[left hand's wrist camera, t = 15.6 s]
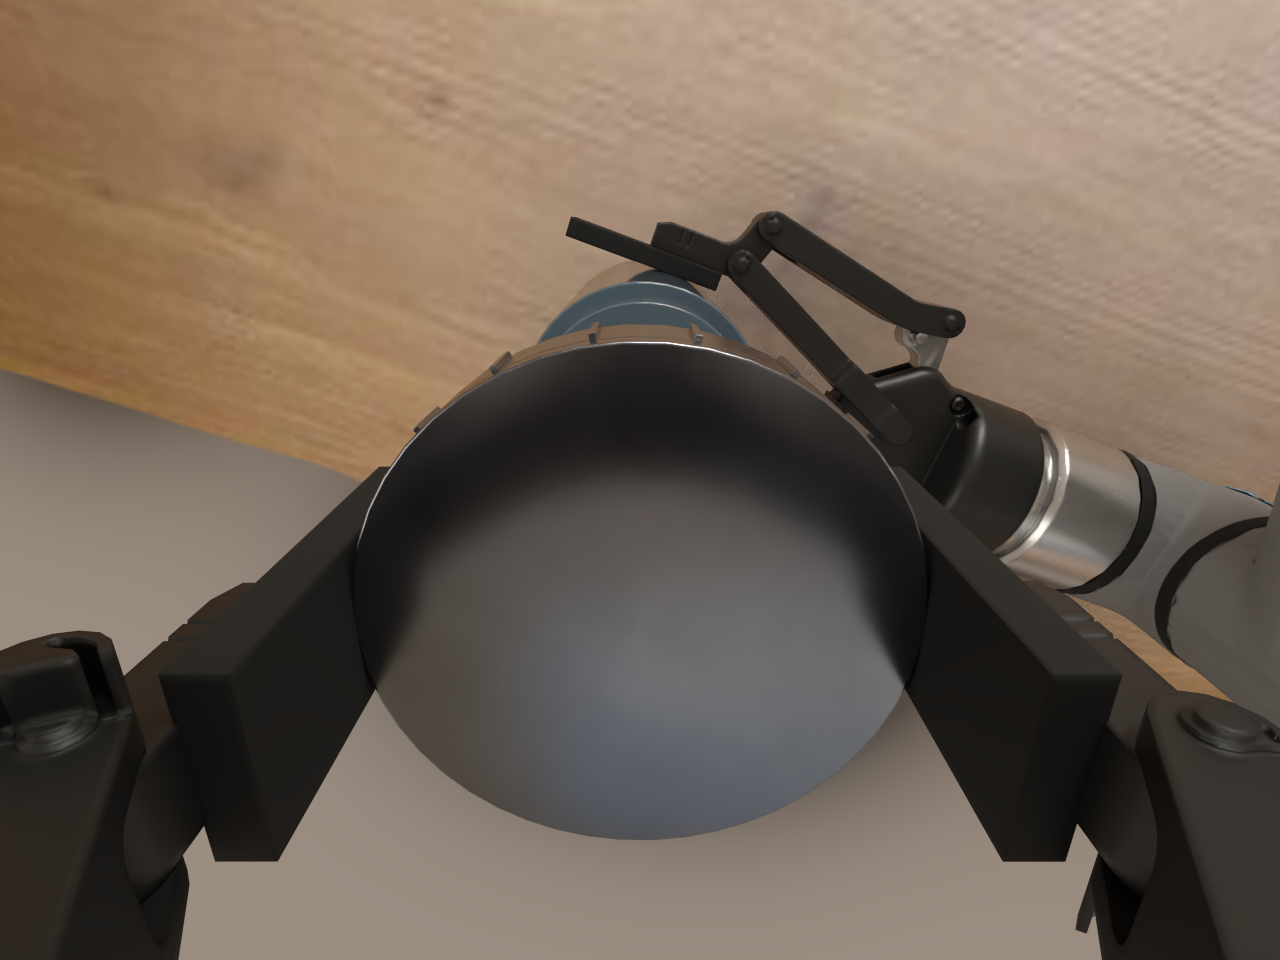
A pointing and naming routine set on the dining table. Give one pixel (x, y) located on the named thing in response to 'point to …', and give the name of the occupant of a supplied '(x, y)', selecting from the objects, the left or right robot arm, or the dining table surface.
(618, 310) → the jar
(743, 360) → the lid
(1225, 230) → the dining table surface
